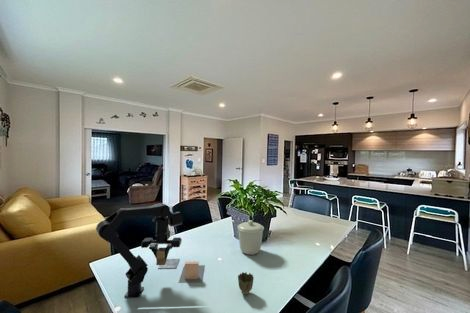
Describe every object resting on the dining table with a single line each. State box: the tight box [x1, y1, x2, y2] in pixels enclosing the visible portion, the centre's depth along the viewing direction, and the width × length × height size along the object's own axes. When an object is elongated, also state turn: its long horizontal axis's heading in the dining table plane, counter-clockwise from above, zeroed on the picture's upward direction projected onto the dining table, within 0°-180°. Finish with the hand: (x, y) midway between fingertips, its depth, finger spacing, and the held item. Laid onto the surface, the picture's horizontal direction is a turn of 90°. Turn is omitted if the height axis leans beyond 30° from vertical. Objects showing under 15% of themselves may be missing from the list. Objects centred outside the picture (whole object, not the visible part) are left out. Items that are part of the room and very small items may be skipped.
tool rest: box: [157, 258, 180, 270], centre depth 122 cm, size 10×10×1 cm
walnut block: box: [155, 247, 168, 266], centre depth 105 cm, size 4×4×7 cm
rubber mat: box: [178, 264, 206, 284], centre depth 113 cm, size 16×12×1 cm
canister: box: [237, 219, 265, 256], centre depth 141 cm, size 18×18×21 cm
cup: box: [237, 271, 255, 296], centre depth 98 cm, size 8×7×8 cm
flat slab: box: [184, 261, 200, 279], centre depth 108 cm, size 2×7×8 cm, turn 94°
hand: (161, 259), depth 105 cm, fingers closed on walnut block, 4 cm apart
